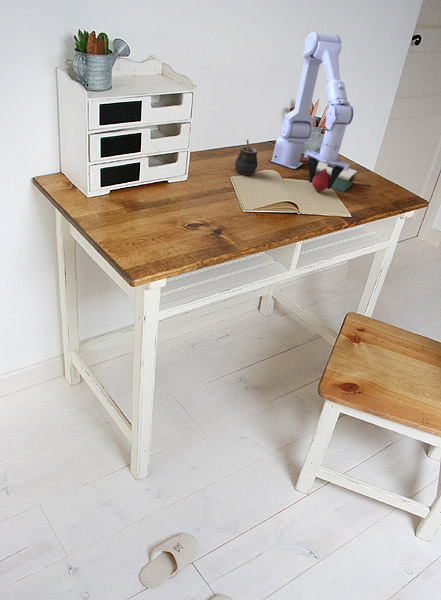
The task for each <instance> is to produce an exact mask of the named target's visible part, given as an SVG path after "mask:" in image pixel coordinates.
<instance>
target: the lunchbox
mask: <svg viewBox="0 0 441 600" xmlns="http://www.w3.org/2000/svg"><path fill="white" fill-rule="evenodd" d="M324 168H326V169H327V171H326V172H327V173H328V174H329V176H330V178H331V173H332V169H333V168H335V166H331V165H328V164H325V163H322V162H319V163H318V166H317V169H316V172H315V174H316V173H317V172H319V171H322V170H323V169H324ZM357 173H358V170H355V169H353V168H349V170H348V171H344V170H343V171H342V172H341V173H340V174H339V176H338V177H337V178H336V180H335V181H334V183H333V185H332V187H331V188H330V189H333V190H337V191H339V192H342V193H344V192H345V191H347V190H348V189H349V188H351V186H353V184H354V183H353V182H354V180H355V178H356V175H357ZM307 180H308V181H309V178H308V179H307Z"/></svg>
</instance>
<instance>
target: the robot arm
mask: <svg viewBox="0 0 441 600" xmlns="http://www.w3.org/2000/svg"><path fill="white" fill-rule="evenodd" d="M341 38H342V37H341V36H340V35H339V34H329V33H322V32H316V31H311V32H310V33H309V34H308V36H307V37H306V39H305V42H304V47H303V53H302V57H303V59H304V61H303V66H302V70H301V76H300V80H299V85H298V88H297V94H296V100H295V103H294V109H293V110H291V111H289V112H288V113H286V114H285V115H284V118H283V121H282V123H281V127H280V134H281V135H279V136H278V137H277V139H276V141H275V145H274V149H273V154H272V157H271V160H270V162H272V163H275V164H277V165H280V166H283V167H287V168H289V169H293V170H296V169H298V168H299V167H301V166H302V165H303V162H301V157H302V154H303V151H304V145H305V143H307V141H308V140H310V138H311V137H312V135H313V132H314V118H313V116H312V115H311V114H310V110H311V105H312V101H313V97H314V92H315V88H316V83H317V78H318V74H319V69H320V65H321V64H322V63H323V67H324V72H325V75H326V79H327V83H328V84H326V86H325V94H326V99H327V105H328V106H327V107H328V109H327V110H326V111H325V124H324V125H325V126H324V127H325V131H324V135H323V139H322V142H321V146H320V150H319V152H316V151H313V150H309V149H307V150H306V151H305V152H304V156H303V157H304V158H306V159H308V160H307V161H306V163H307V167H308V179H309V180H308V183H310V184H312V179H313V177H314V175H315V172H316V169H317V166H318V163H319V162H322V163H325V164H328V165H331V166H335V168H333V169H332V173H331V178H330V182H329V184H328V188H327V189H328V190H331V189H332V188H331V187H332V185H333V183H334V181H335V180H336V178H337V177H338V176H339V174H340V173H341V172H342V171H343V170H344V171H348V170H349V169H350V166H351V164H350V163H348V162H347V161H344V160H342V159H339V158H338V156H339V154H340V149H341V146H342V142H343V139H344V135H345V132H346V128H347V126H348V125H350V124H351V123H352V121H353V119H354V113H355V112H354V107H353V105H351V103H350V101H348V97H347V92H346V86H345V85H346V84H345V82H344V81H342V80H341V73H340V62H339V61H340V60H339V56H340V54H341V51H342V43H343V42H342V39H341ZM327 189H326V190H327Z"/></svg>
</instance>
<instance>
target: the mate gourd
mask: <svg viewBox="0 0 441 600" xmlns="http://www.w3.org/2000/svg"><path fill="white" fill-rule="evenodd" d="M249 144H250V143H249V139H246V146H242V147H240V150H239V154H238V156H237V157H236V159H235V163H234V165H235V170H236V172H237V173H238V174H240V175H243V176H251V175H252V174H254V173H255V172H256V170H257V168H258V150H257V149H256V148H253V147H251V146H250V145H249Z"/></svg>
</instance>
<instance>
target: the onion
mask: <svg viewBox="0 0 441 600" xmlns="http://www.w3.org/2000/svg"><path fill="white" fill-rule="evenodd" d="M326 171H327V169H326V168H324V169H323V170H322V171H319V172H317V173H316V174H315V175H314V177H313V179H312V182H311V185H312V187H313V188H314V190H315V191H316V192H318V193H321V192H323V191H325V190H327V188H328V184H329V182H330V176H329V174H328V173H327V172H326Z"/></svg>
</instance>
